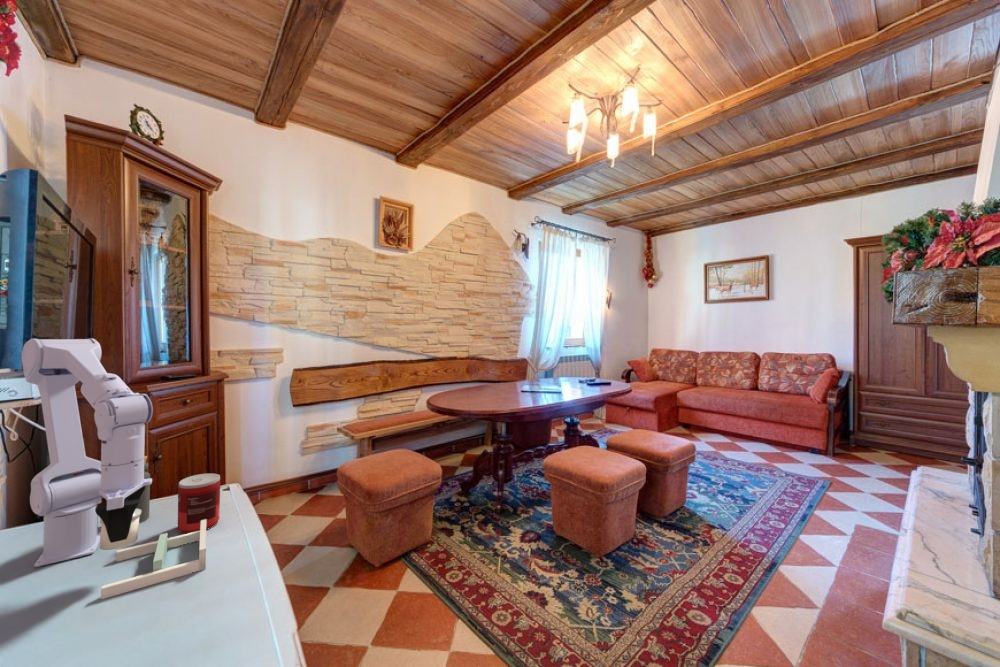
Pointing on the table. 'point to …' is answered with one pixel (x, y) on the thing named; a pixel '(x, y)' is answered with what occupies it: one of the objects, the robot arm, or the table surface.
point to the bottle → (145, 497)
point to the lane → (163, 573)
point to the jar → (131, 538)
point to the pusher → (160, 553)
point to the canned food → (198, 502)
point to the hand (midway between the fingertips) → (121, 533)
